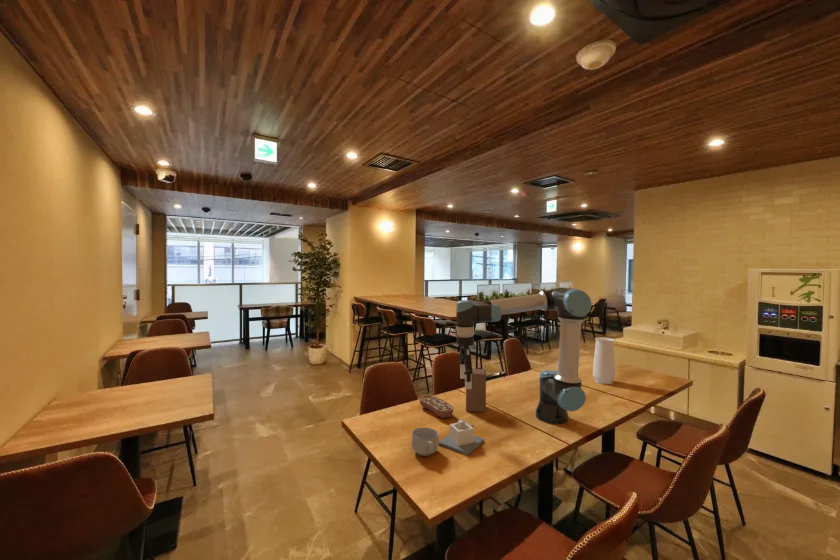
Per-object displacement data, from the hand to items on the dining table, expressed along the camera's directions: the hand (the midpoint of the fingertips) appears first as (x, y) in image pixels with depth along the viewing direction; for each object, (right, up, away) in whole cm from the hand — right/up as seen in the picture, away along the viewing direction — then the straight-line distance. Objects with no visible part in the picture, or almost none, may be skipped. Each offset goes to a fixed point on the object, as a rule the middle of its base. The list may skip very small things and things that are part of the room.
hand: (465, 383), depth 154 cm
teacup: (-18, -24, -16) cm, 34 cm away
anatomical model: (-12, -22, +24) cm, 35 cm away
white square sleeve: (-2, -22, -7) cm, 23 cm away
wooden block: (+9, -22, +29) cm, 38 cm away
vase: (+99, -21, +73) cm, 125 cm away
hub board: (-3, -23, -7) cm, 24 cm away
